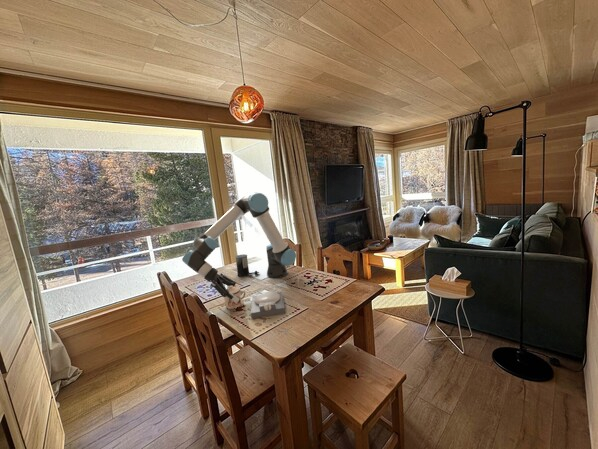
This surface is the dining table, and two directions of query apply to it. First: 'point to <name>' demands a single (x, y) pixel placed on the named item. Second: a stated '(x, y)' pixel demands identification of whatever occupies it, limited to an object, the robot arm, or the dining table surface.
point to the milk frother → (243, 266)
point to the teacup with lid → (236, 292)
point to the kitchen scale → (267, 304)
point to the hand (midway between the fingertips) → (240, 297)
